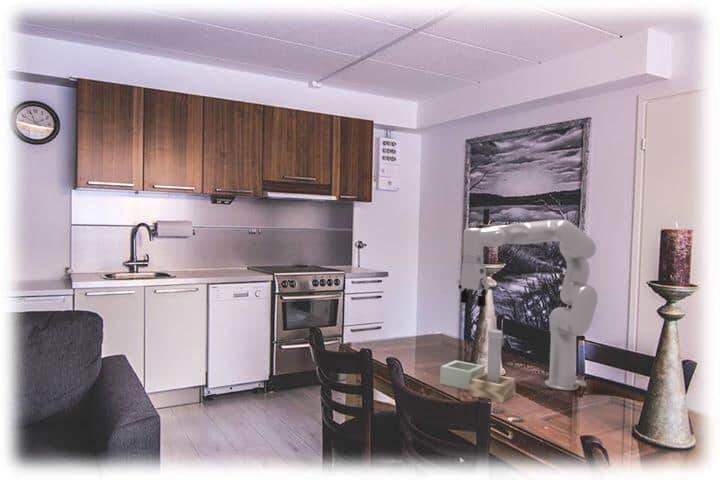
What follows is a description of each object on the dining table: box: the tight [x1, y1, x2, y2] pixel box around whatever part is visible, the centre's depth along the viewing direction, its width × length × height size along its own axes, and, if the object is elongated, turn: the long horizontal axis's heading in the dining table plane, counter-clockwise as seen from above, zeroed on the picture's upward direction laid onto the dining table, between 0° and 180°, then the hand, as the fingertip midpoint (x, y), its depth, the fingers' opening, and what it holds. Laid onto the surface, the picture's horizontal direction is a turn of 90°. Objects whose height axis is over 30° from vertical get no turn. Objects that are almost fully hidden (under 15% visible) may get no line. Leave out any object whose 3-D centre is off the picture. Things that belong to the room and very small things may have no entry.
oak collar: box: [468, 371, 517, 404], centre depth 199 cm, size 13×13×6 cm
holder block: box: [439, 359, 486, 391], centre depth 212 cm, size 13×13×7 cm
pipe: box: [486, 314, 504, 384], centre depth 198 cm, size 6×6×30 cm
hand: (472, 304), depth 204 cm, fingers open, 9 cm apart
